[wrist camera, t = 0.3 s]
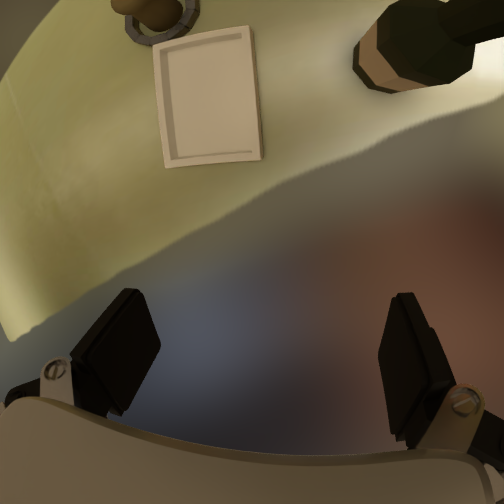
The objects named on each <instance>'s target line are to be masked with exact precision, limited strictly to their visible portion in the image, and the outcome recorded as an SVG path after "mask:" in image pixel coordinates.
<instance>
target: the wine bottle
mask: <svg viewBox="0 0 504 504" xmlns="http://www.w3.org/2000/svg"><path fill="white" fill-rule="evenodd" d="M500 37H504V0H449V1H448V2H446V3H445V2H442V1H439V0H399V1H397V2H395V3H393V4H391V5H389V6H388V8H387V9H386V10H385V11H384V12H383V13H382V15H381V16H380V17H379V18H378V19H377V21H376V22H375V23H374V24H373V25H372V27H371V28H370V29H369V30H368V31H367V33H366V34H365V35H364V36H363V37H362V39H361V40H360V41H359V42H358V44H357V45H356V46H355V47H354V55H353V70H354V72H355V73H356V74H357V75H358V76H359V78H360V79H361V80H362V81H363V83H364V84H365V85H366V86H367V88H369V89H373V90H377V91H382V92H386V93H390V94H392V93H397V92H402V91H407V90H412V89H418V88H424V87H430V86H437V85H443V84H450V83H452V82H453V81H455V80H456V79H457V78H459V77H460V76H462V75H463V74H465V73H466V72H468V71H469V70H471V69H472V65H473V58H474V52H475V44H477V43H481V42H485V41H488V40H492V39H496V38H500Z"/></svg>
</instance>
